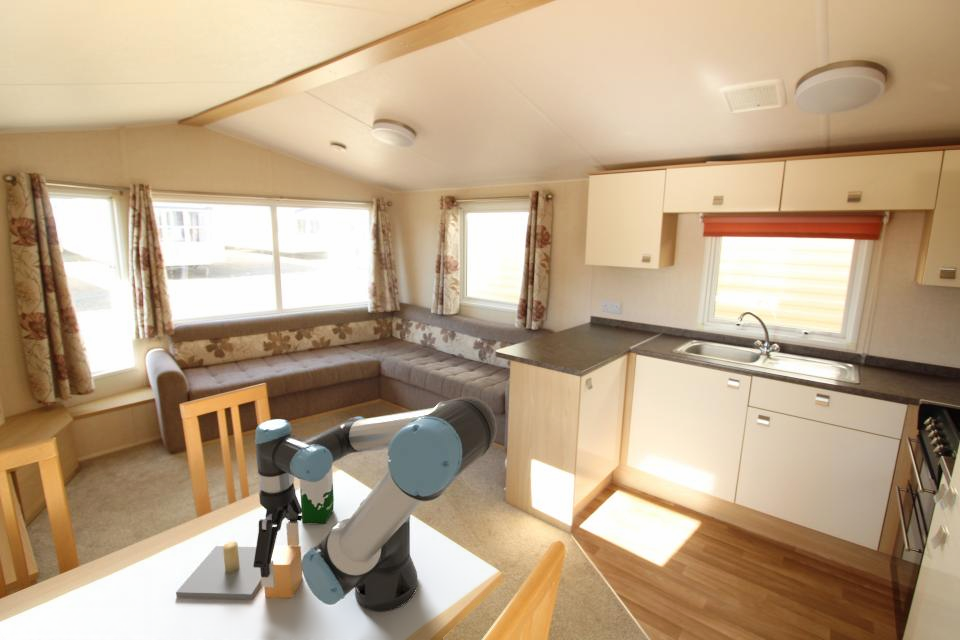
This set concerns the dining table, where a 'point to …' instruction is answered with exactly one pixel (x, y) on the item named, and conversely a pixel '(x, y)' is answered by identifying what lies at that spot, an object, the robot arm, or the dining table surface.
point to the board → (224, 575)
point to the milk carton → (317, 499)
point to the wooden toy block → (285, 571)
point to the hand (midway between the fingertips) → (281, 564)
